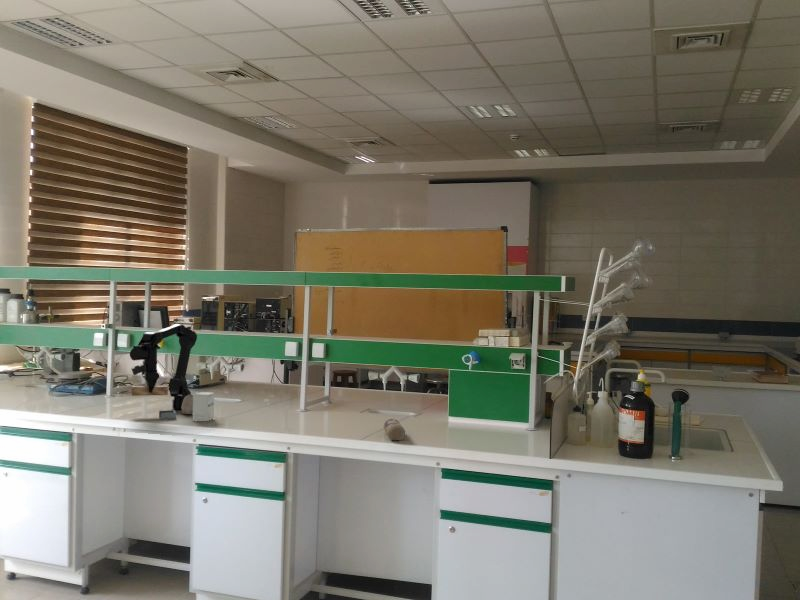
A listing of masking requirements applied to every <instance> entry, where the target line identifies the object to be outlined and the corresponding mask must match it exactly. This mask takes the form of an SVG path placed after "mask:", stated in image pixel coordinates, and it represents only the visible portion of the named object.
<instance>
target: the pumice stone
mask: <svg viewBox="0 0 800 600" xmlns="http://www.w3.org/2000/svg"><path fill="white" fill-rule="evenodd" d="M181 409H182V410H181V412H182V414H184V415H185V414H186V415H193V394H191V395H187V396H186V397H185V398H184V400H183V403H182V407H181Z"/></svg>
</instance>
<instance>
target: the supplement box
mask: <svg viewBox="0 0 800 600" xmlns="http://www.w3.org/2000/svg"><path fill="white" fill-rule="evenodd" d="M192 395H193V414H192V422H197V421H208V422H210V421H212V420H211V419H213V418H214V419H215V392H207V391H205V392H204V391H199V392H197V393H194V394H193V393H192ZM214 419H213V420H214ZM209 420H210V421H209Z"/></svg>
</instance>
